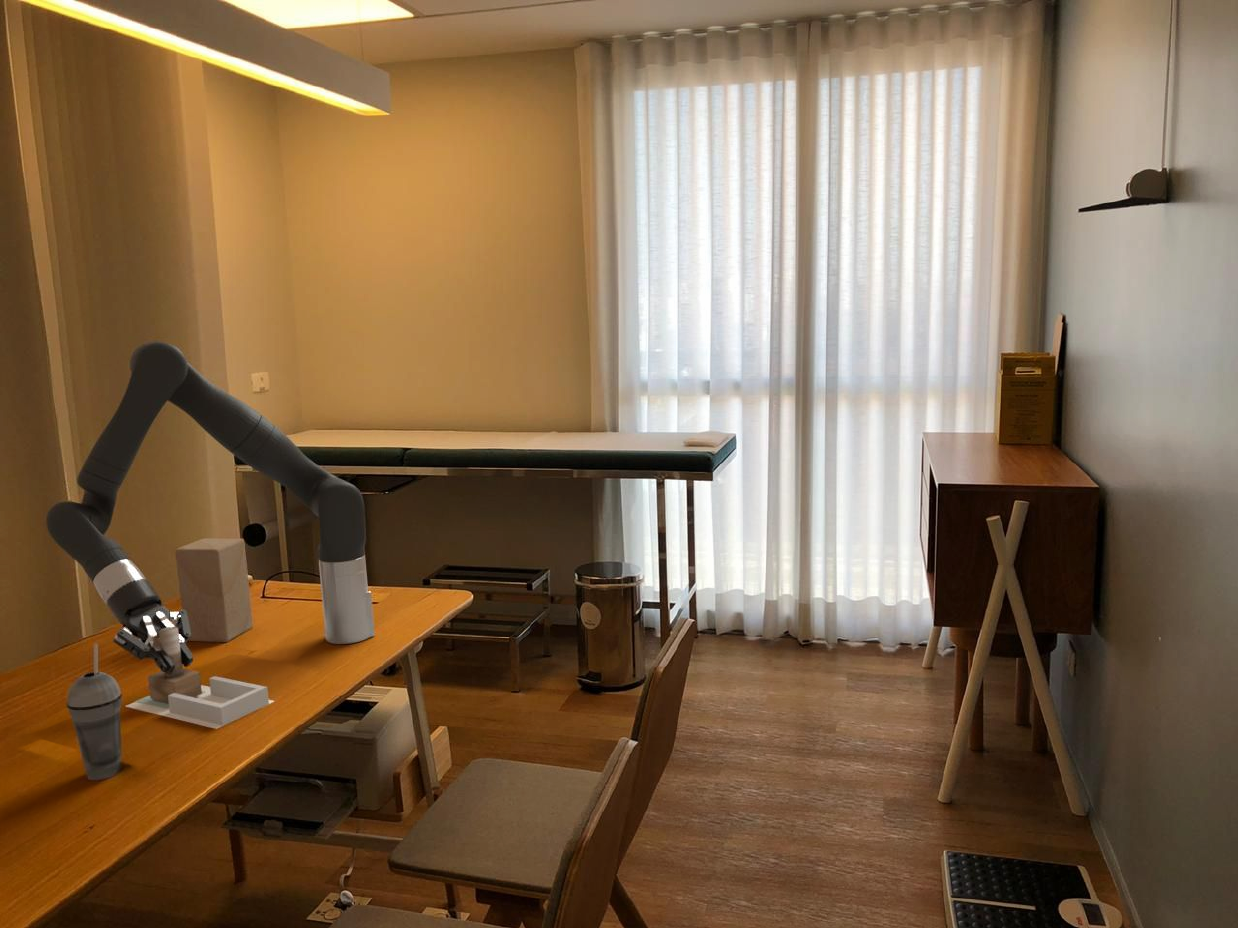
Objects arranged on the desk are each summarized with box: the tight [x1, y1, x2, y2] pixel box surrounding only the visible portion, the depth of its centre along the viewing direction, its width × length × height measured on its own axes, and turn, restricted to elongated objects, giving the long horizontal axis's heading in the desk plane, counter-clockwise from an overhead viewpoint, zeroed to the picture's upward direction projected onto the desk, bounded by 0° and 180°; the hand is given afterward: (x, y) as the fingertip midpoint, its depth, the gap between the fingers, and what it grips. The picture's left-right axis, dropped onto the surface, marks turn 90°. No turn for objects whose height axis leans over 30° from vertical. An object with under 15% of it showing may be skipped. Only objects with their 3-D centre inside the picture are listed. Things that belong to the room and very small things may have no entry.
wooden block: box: [174, 537, 254, 643], centre depth 206 cm, size 10×10×20 cm
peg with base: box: [147, 626, 202, 703], centre depth 168 cm, size 7×5×12 cm
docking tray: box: [124, 676, 276, 730], centre depth 166 cm, size 23×12×4 cm, turn 62°
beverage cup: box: [66, 643, 123, 781], centre depth 143 cm, size 7×7×20 cm
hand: (180, 666), depth 167 cm, fingers closed on peg with base, 3 cm apart
